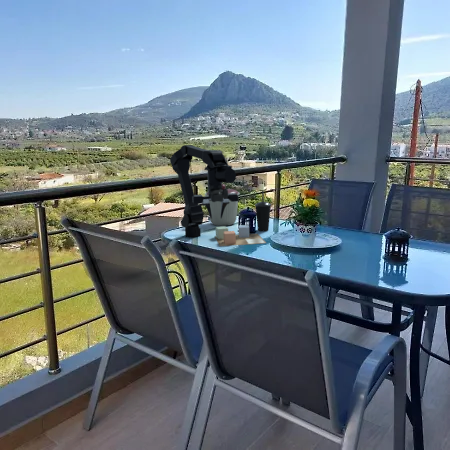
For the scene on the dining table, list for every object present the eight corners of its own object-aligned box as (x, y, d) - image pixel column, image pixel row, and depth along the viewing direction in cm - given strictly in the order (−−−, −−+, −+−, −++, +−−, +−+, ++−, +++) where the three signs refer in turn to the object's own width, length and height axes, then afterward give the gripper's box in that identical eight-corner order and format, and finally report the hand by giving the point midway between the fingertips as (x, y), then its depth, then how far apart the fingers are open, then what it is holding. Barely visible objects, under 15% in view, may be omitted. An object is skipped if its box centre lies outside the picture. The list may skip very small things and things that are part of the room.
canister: (243, 226, 207) (242, 185, 202) (207, 228, 205) (206, 187, 200) (237, 219, 225) (236, 181, 220) (204, 221, 222) (203, 183, 218)
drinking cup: (272, 234, 190) (271, 191, 185) (255, 234, 190) (255, 192, 186) (270, 230, 197) (270, 189, 193) (254, 230, 197) (254, 190, 193)
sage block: (218, 239, 179) (218, 229, 178) (215, 236, 183) (215, 227, 182) (228, 238, 180) (228, 228, 179) (225, 235, 185) (225, 226, 184)
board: (219, 248, 168) (219, 246, 168) (214, 238, 185) (214, 236, 184) (266, 245, 171) (266, 243, 171) (257, 236, 187) (257, 233, 187)
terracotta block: (225, 244, 171) (224, 233, 170) (223, 241, 175) (223, 231, 174) (235, 243, 171) (235, 233, 170) (234, 240, 175) (233, 230, 174)
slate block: (239, 237, 181) (239, 227, 180) (238, 235, 185) (238, 225, 184) (249, 237, 181) (249, 227, 180) (248, 234, 185) (248, 225, 184)
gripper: (193, 184, 157) (195, 224, 161) (240, 182, 160) (241, 221, 163) (191, 181, 168) (193, 218, 172) (235, 179, 171) (236, 215, 174)
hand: (216, 218), depth 170 cm, fingers open, 4 cm apart
